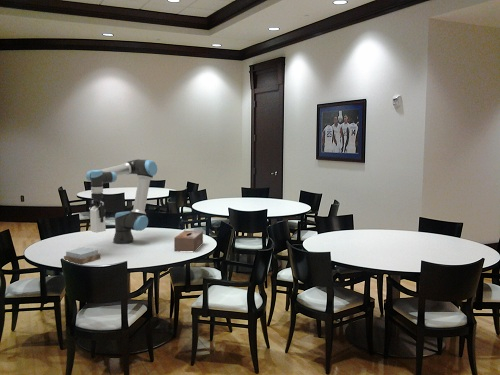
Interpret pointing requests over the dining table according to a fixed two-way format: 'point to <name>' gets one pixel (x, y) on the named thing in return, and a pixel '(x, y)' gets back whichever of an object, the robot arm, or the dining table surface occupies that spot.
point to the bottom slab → (82, 261)
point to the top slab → (81, 253)
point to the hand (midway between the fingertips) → (98, 226)
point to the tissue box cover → (188, 240)
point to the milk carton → (96, 220)
